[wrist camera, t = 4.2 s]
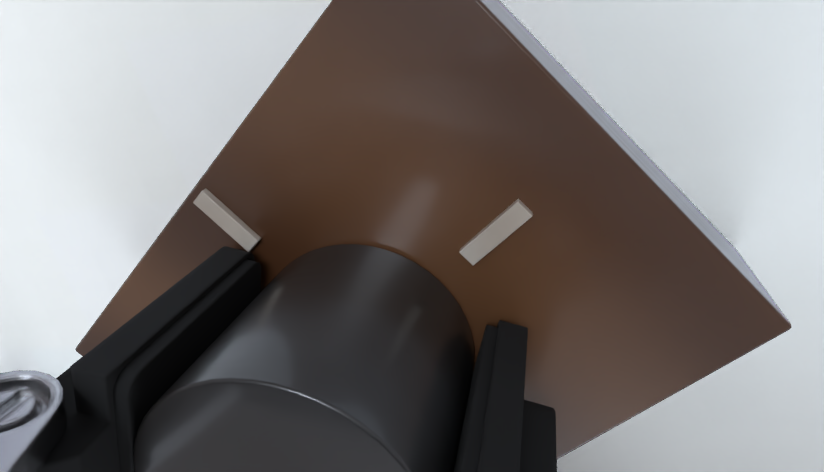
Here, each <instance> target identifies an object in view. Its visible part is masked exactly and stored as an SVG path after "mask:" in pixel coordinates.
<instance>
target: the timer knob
mask: <svg viewBox="0 0 824 472" xmlns="http://www.w3.org/2000/svg"><path fill="white" fill-rule="evenodd" d="M474 356H475V354H474V342H473V338H472V333H471V329H470V327H469V324H468V322H467V319H466V317H465V315H464V313H463V311H462V309H461V307H460V306H459V304H458V302H457V301H456V300H455V298H454V297H453V296H452V294H451V293H450V292H449V290H448V289H447V288H446V287H445V286H444V285H443V284H442V283H441V282H440V281H439V280H438V279H437V278H436V277H434V276H433V275H432V274H431V273H430V272H428V271H427V270H426V269H424V268H423V267H421V266H420V265H418V264H416V263H415V262H413V261H411V260H409V259H407V258H405V257H403V256H401V255H399V254H396V253H394V252H391V251H388V250H385V249H381V248H377V247H373V246H367V245H358V244H340V245H332V246H326V247H322V248H319V249H315V250H312V251H310V252H308V253H305V254H303V255H301V256H300V257H298V258H296V259H295V260H293V261H292V262H290V263H289V264H288V265H287V266H286V267H285V268H284V269H283V270H282V271H281V272H280V273H279V274H278V275H277V276H276V277H275V278H274V279H273V280H272V281H271V282H270V283H269V284H268V285H267V286H266V287H265V288H264V289H263V290H262V292H261V293H260V294H259V295H258V296H257V297H256V298H255V299H254V300H253V301H252V302H251V303H250V304H249V305H248V306H247V307H246V308H245V309H244V310H243V311H242V313H241V314H240V315H239V316H238V317H237V318H236V319H235V320H234V321H233V322H232V323H231V324H230V325H229V326H228V327H227V328H226V329H225V330H224V331H223V332H222V333H221V335H220V336H219V337H218V338H217V339H216V340H215V341H214V342H213V343H212V344H211V345H210V346H209V347H208V348H207V349H206V350H205V351H204V352H203V353H202V354H201V356H200V357H199V358H198V359H197V360H196V361H195V362H194V363H193V364H192V365H191V366H190V367H189V368H188V369H187V370H186V371H185V372H184V373H183V374H182V375H181V377H180V378H179V379H178V380H177V381H176V382H175V383H174V384H173V385H172V386H171V387H170V388H169V389H168V390H167V391H166V392H165V393H164V394H163V395H162V396H161V397H160V399H159V400H158V401H157V402H156V403H155V404H154V405H153V406H152V407H151V409H150V410H149V411H148V412H147V414H146V415H145V416H144V418H143V420H142V422H141V424H140V426H139V429H138V431H137V435H136V439H135V443H134V454H133V461H134V471H135V472H453V469H454V464H455V459H456V454H457V449H458V444H459V439H460V434H461V429H462V424H463V418H464V413H465V408H466V403H467V398H468V393H469V388H470V383H471V378H472V373H473V368H474Z"/></svg>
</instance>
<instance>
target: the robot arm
mask: <svg viewBox="0 0 824 472" xmlns="http://www.w3.org/2000/svg"><path fill="white" fill-rule="evenodd" d="M260 287H261V264H260V263H259V262H256V261H255V258H254V255H253V254H252V253H250V252H246V251H242V250H238V249H235V248H231V247H227V246H224V247H222V248H220V249H219V250H218V251H217V252H215V253H214V254H213V255H211V256H210V257H209V258H208V259H206V260H205V261H204V262H203V263H201V264H200V265H199V266H197V267H196V268H195V269H194V270H192V271H191V272H190V273H189V274H187V275H186V276H185V277H183V278H182V279H181V280H180V281H178V282H177V283H176V284H175V285H173V286H172V287H171V288H169V289H168V290H167V291H166V292H164V293H163V294H162V295H161V296H159V297H158V298H157V299H156V300H154V301H153V302H152V303H150V304H149V305H148V306H147V307H145V308H144V309H143V310H142V311H140V312H139V313H138V314H136V315H135V316H134V317H133V318H131V319H130V320H129V321H128V322H126V323H125V324H124V325H122V326H121V327H120V328H119V329H117V330H116V331H115V332H114V333H112V334H111V335H110V336H108V337H107V338H106V339H105V340H103V341H102V342H101V343H100V344H98V345H97V346H96V347H94V348H93V349H92V350H91V351H89V352H88V353H87V354H86V355H84V356H83V357H82V358H81V359H79V360H78V361H77V362H75V363H74V364H73V365H72V366H70V368H69V369H68V370H66V371H65V372H64V373H63V374H61V375H60V376H59V377H58V378H54V377H52V376H51V375H49V374H46V373H42V372H38V371H13V372H6V373H0V472H135V471H134V461H133V454H134V443H135V439H136V435H137V431H138V429H139V426H140V424H141V422H142V420H143V418H144V416H145V415H146V414H147V412H148V411H149V410H150V409H151V407H152V406H153V405H154V404H155V403H156V402H157V401H158V400H159V399H160V397H161V396H162V395H163V394H164V393H165V392H166V391H167V390H168V389H169V388H170V387H171V386H172V385H173V384H174V383H175V382H176V381H177V380H178V379H179V378H180V377H181V375H182V374H183V373H184V372H185V371H186V370H187V369H188V368H189V367H190V366H191V365H192V364H193V363H194V362H195V361H196V360H197V359H198V358H199V357H200V356H201V354H202V353H203V352H204V351H205V350H206V349H207V348H208V347H209V346H210V345H211V344H212V343H213V342H214V341H215V340H216V339H217V338H218V337H219V336H220V335H221V333H222V332H223V331H224V330H225V329H226V328H227V327H228V326H229V325H230V324H231V323H232V322H233V321H234V320H235V319H236V318H237V317H238V316H239V315H240V314H241V313H242V311H243V310H244V309H245V308H246V307H247V306H248V305H249V304H250V303H251V302H252V301H253V300H254V299H255V298H256V297H257V296H258V295H259V294H260ZM527 338H528V328H527V327H523V326H520V325H516V324H512V323H509V322H505V321H501V320H499V322H498V325H497V327H494V326H491V325H486V328H485V331H484V335H483V338H482V342H481V346H480V349H479V353H478V356H477V360H476V364H475V367H474V371H473V374H472V378H471V383H470V388H469V393H468V398H467V403H466V408H465V413H464V418H463V424H462V429H461V434H460V439H459V444H458V449H457V454H456V459H455V464H454V469H453V472H557V455H556V414H555V410H554V408H552V407H549V406H545V405H542V404H538V403H535V402H531V401H528V400H524V388H525V371H526V355H527Z"/></svg>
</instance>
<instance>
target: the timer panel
mask: <svg viewBox="0 0 824 472" xmlns="http://www.w3.org/2000/svg"><path fill="white" fill-rule="evenodd" d="M340 244H358V245H367V246H373V247H377V248H381V249H385V250H388V251H391V252H394V253H396V254H399V255H401V256H403V257H405V258H407V259H409V260H411V261H413V262H415V263H416V264H418V265H420V266H421V267H423V268H424V269H426V270H427V271H428V272H430V273H431V274H432V275H433V276H434V277H436V278H437V279H438V280H439V281H440V282H441V283H442V284H443V285H444V286H445V287H446V288H447V289H448V290H449V292H450V293H451V294H452V296H453V297H454V298H455V300H456V301H457V302H458V304H459V306H460V307H461V309H462V311H463V313H464V315H465V317H466V319H467V322H468V324H469V327H470V329H471V333H472V338H473V342H474V354H475V356H474V367H475V364H476V360H477V356H478V353H479V349H480V346H481V342H482V338H483V335H484V331H485V328H486V325H491V326H494V327H497V325H498V322H499V320H501V321H505V322H509V323H512V324H516V325H520V326H523V327H527V328H528V338H527V355H526V371H525V388H524V400H528V401H531V402H535V403H538V404H542V405H545V406H549V407H552V408H554V410H555V414H556V455H557V459H559V458H560V457H562V456H564V455H566V454H568V453H569V452H571V451H573V450H575V449H576V448H578V447H580V446H582V445H584V444H585V443H587V442H589V441H591V440H593V439H594V438H596V437H598V436H600V435H602V434H603V433H605V432H607V431H609V430H610V429H612V428H614V427H616V426H618V425H619V424H621V423H623V422H625V421H627V420H628V419H630V418H632V417H634V416H636V415H637V414H639V413H641V412H643V411H644V410H646V409H648V408H650V407H652V406H653V405H655V404H657V403H659V402H661V401H662V400H664V399H666V398H668V397H670V396H671V395H673V394H675V393H677V392H678V391H680V390H682V389H684V388H686V387H687V386H689V385H691V384H693V383H695V382H696V381H698V380H700V379H702V378H704V377H705V376H707V375H709V374H711V373H712V372H714V371H716V370H718V369H720V368H721V367H723V366H725V365H727V364H729V363H730V362H732V361H734V360H736V359H738V358H739V357H741V356H743V355H745V354H746V353H748V352H750V351H752V350H754V349H755V348H757V347H759V346H761V345H763V344H764V343H766V342H768V341H770V340H772V339H773V338H775V337H777V336H779V335H781V334H782V333H784V332H786V331H788V330H789V329H790V328H791V324H790V322H789V321H788V319H787V318H786V317H785V315H784V314H783V313H782V311H781V310H780V308H779V307H778V306H777V304H776V303H775V302H774V300H773V299H772V298H771V296H770V295H769V293H768V292H767V291H766V289H765V288H764V287H763V285H762V284H761V282H760V281H759V280H758V278H757V277H756V276H755V274H754V273H753V271H752V270H751V269H750V267H749V266H748V265H747V263H746V262H745V261H744V259H743V258H742V256H741V255H740V254H739V252H738V251H737V250H736V249H735V248H734V247H733V245H732V244H731V243H730V242H729V241H728V240H727V239H726V238H725V237H724V236H723V235H722V234H721V233H720V232H719V231H718V230H717V229H716V228H715V227H714V225H713V224H712V223H711V222H710V221H709V220H708V219H707V218H706V217H705V216H704V215H703V214H702V213H701V212H700V211H699V210H698V209H697V208H696V207H695V206H694V204H693V203H692V202H691V201H690V200H689V199H688V198H687V197H686V196H685V195H684V194H683V193H682V192H681V191H680V190H679V189H678V188H677V187H676V186H675V185H674V183H673V182H672V181H671V180H670V179H669V178H668V177H667V176H666V175H665V174H664V173H663V172H662V171H661V170H660V169H659V168H658V167H657V166H656V165H655V163H654V162H653V161H652V160H651V159H650V158H649V157H648V156H647V155H646V154H645V153H644V152H643V151H642V150H641V149H640V148H639V147H638V146H637V145H636V144H635V142H634V141H633V140H632V139H631V138H630V137H629V136H628V135H627V134H626V133H625V132H624V131H623V130H622V129H621V128H620V127H619V126H618V125H617V124H616V122H615V121H614V120H613V119H612V118H611V117H610V116H609V115H608V114H607V113H606V112H605V111H604V110H603V109H602V108H601V107H600V106H599V105H598V104H597V103H596V101H595V100H594V99H593V98H592V97H591V96H590V95H589V94H588V93H587V92H586V91H585V90H584V89H583V88H582V87H581V86H580V85H579V84H578V83H577V81H576V80H575V79H574V78H573V77H572V76H571V75H570V74H569V73H568V72H567V71H566V70H565V69H564V68H563V67H562V66H561V65H560V64H559V63H558V62H557V60H556V59H555V58H554V57H553V56H552V55H551V54H550V53H549V52H548V51H547V50H546V49H545V48H544V47H543V46H542V45H541V44H540V43H539V42H538V40H537V39H536V38H535V37H534V36H533V35H532V34H531V33H530V32H529V31H528V30H527V29H526V28H525V27H524V26H523V25H522V24H521V23H520V22H519V21H518V19H517V18H516V17H515V16H514V15H513V14H512V13H511V12H510V11H509V10H508V9H507V8H506V7H505V6H504V5H503V4H502V3H501V2H500V1H499V0H332V1H331V3H330V4H329V5H328V7H327V8H326V9H325V11H324V12H323V14H322V15H321V16H320V18H319V19H318V20H317V22H316V23H315V24H314V26H313V27H312V28H311V30H310V31H309V33H308V34H307V35H306V37H305V38H304V39H303V41H302V42H301V43H300V45H299V46H298V47H297V49H296V50H295V52H294V53H293V54H292V56H291V57H290V58H289V60H288V61H287V62H286V64H285V65H284V66H283V68H282V69H281V71H280V72H279V73H278V75H277V76H276V77H275V79H274V80H273V81H272V83H271V84H270V85H269V87H268V88H267V90H266V91H265V92H264V94H263V95H262V96H261V98H260V99H259V100H258V102H257V103H256V104H255V106H254V107H253V109H252V110H251V111H250V113H249V114H248V115H247V117H246V118H245V119H244V121H243V122H242V123H241V125H240V126H239V127H238V129H237V130H236V132H235V133H234V134H233V136H232V137H231V138H230V140H229V141H228V142H227V144H226V145H225V146H224V148H223V149H222V151H221V152H220V153H219V155H218V156H217V157H216V159H215V160H214V161H213V163H212V164H211V165H210V167H209V168H208V170H207V171H206V172H205V174H204V175H203V176H202V178H201V179H200V180H199V182H198V183H197V184H196V186H195V187H194V189H193V190H192V191H191V193H190V194H189V195H188V197H187V198H186V199H185V201H184V202H183V203H182V205H181V206H180V208H179V209H178V210H177V212H176V213H175V214H174V216H173V217H172V218H171V220H170V221H169V222H168V224H167V225H166V227H165V228H164V229H163V231H162V232H161V233H160V235H159V236H158V237H157V239H156V240H155V241H154V243H153V244H152V246H151V247H150V248H149V250H148V251H147V252H146V254H145V255H144V256H143V258H142V259H141V260H140V262H139V263H138V264H137V266H136V267H135V269H134V270H133V271H132V273H131V274H130V275H129V277H128V278H127V279H126V281H125V282H124V283H123V285H122V286H121V288H120V289H119V290H118V292H117V293H116V294H115V296H114V297H113V298H112V300H111V301H110V302H109V304H108V305H107V307H106V308H105V309H104V311H103V312H102V313H101V315H100V316H99V317H98V319H97V320H96V321H95V323H94V324H93V326H92V327H91V328H90V330H89V331H88V332H87V334H86V335H85V336H84V338H83V339H82V340H81V342H80V343H79V345H78V346H77V347H76V351H77V352H78V353H79V354H81V355H82V356H84V355H86V354H87V353H88V352H89V351H91V350H92V349H93V348H94V347H96V346H97V345H98V344H100V343H101V342H102V341H103V340H105V339H106V338H107V337H108V336H110V335H111V334H112V333H114V332H115V331H116V330H117V329H119V328H120V327H121V326H122V325H124V324H125V323H126V322H128V321H129V320H130V319H131V318H133V317H134V316H135V315H136V314H138V313H139V312H140V311H142V310H143V309H144V308H145V307H147V306H148V305H149V304H150V303H152V302H153V301H154V300H156V299H157V298H158V297H159V296H161V295H162V294H163V293H164V292H166V291H167V290H168V289H169V288H171V287H172V286H173V285H175V284H176V283H177V282H178V281H180V280H181V279H182V278H183V277H185V276H186V275H187V274H189V273H190V272H191V271H192V270H194V269H195V268H196V267H197V266H199V265H200V264H201V263H203V262H204V261H205V260H206V259H208V258H209V257H210V256H211V255H213V254H214V253H215V252H217V251H218V250H219V249H220V248H222V247H224V246H227V247H231V248H235V249H238V250H242V251H246V252H250V253H252V254H253V255H254V258H255V261H256V262H259V263H260V264H261V287H260V293H261V292H262V290H263V289H264V288H265V287H266V286H267V285H268V284H269V283H270V282H271V281H272V280H273V279H274V278H275V277H276V276H277V275H278V274H279V273H280V272H281V271H282V270H283V269H284V268H285V267H286V266H287V265H288V264H289V263H290V262H292V261H293V260H295V259H296V258H298V257H300V256H301V255H303V254H305V253H308V252H310V251H312V250H315V249H319V248H322V247H326V246H332V245H340ZM473 371H474V368H473ZM472 374H473V373H472Z"/></svg>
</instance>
